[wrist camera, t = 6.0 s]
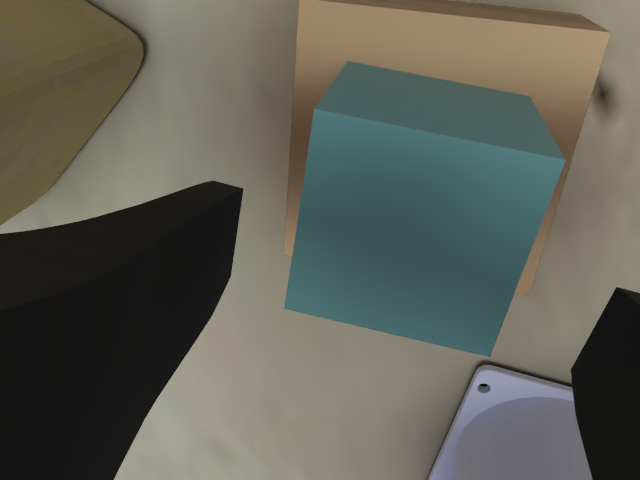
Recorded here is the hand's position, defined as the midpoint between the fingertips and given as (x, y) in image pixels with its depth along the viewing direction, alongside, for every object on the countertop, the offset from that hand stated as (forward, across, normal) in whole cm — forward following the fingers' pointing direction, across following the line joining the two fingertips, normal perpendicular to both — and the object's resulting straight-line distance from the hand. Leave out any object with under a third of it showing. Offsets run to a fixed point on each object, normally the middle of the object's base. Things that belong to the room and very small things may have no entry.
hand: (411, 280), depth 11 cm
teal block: (+7, 0, 0) cm, 7 cm away
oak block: (+11, 0, 0) cm, 11 cm away
